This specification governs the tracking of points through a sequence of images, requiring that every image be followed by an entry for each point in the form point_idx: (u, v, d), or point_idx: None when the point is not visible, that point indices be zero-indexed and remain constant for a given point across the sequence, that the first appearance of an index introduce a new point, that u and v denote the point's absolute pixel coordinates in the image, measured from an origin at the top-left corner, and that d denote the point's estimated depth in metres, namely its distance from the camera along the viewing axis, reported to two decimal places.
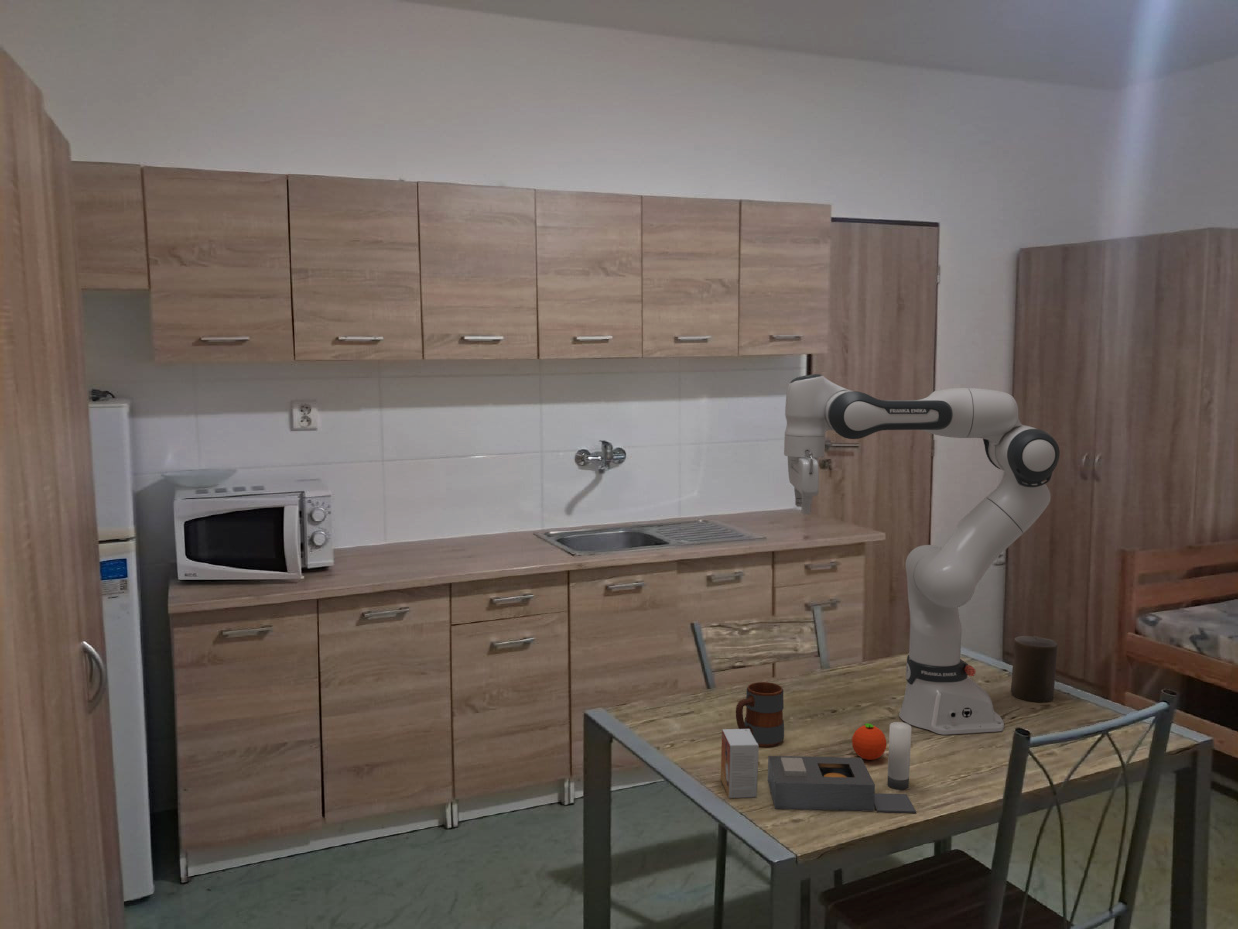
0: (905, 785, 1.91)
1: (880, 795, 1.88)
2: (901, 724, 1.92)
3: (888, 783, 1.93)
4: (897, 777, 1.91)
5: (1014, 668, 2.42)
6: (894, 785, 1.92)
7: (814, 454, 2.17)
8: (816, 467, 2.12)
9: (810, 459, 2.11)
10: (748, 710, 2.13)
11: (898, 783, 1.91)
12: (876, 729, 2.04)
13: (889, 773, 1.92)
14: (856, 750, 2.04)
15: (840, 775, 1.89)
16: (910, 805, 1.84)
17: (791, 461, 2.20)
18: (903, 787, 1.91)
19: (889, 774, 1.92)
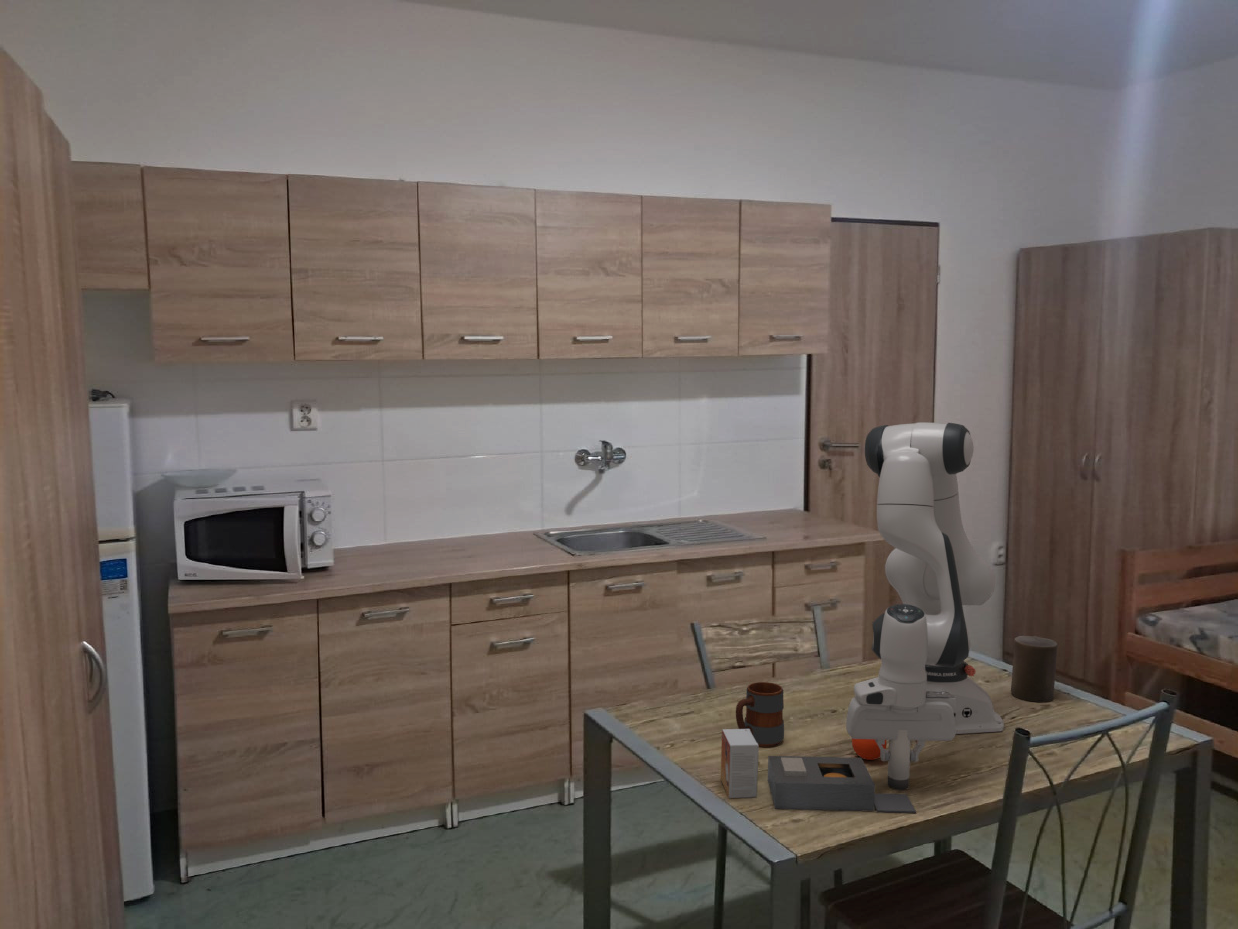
0: (905, 785, 1.91)
1: (880, 795, 1.88)
2: None
3: (888, 783, 1.93)
4: (897, 777, 1.91)
5: (1014, 668, 2.42)
6: (894, 785, 1.92)
7: None
8: None
9: (955, 699, 1.91)
10: (748, 710, 2.13)
11: (898, 783, 1.91)
12: None
13: (889, 773, 1.92)
14: (856, 750, 2.04)
15: (840, 775, 1.89)
16: (910, 805, 1.84)
17: (911, 711, 1.88)
18: (903, 787, 1.91)
19: (889, 774, 1.92)
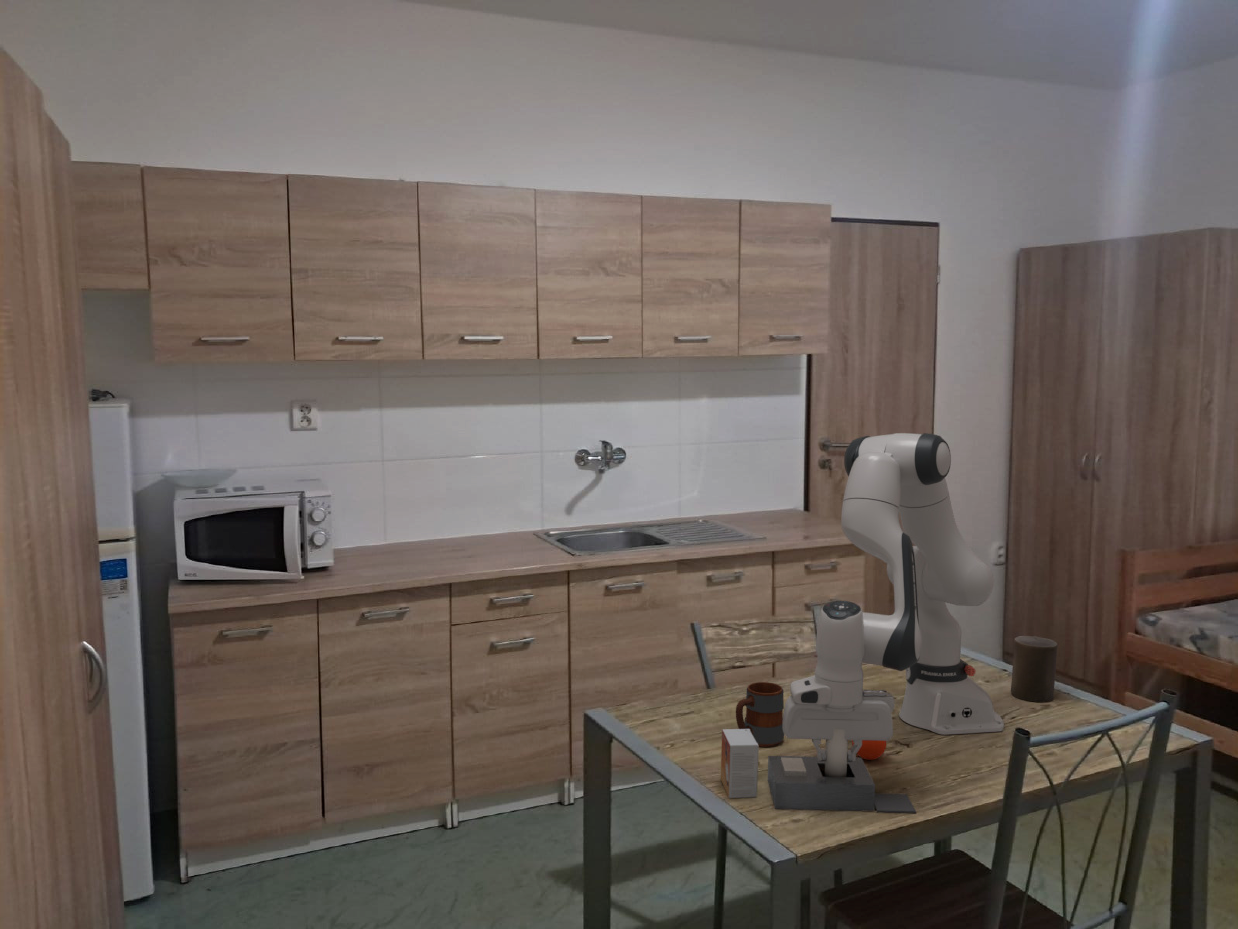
0: None
1: (880, 795, 1.88)
2: None
3: None
4: None
5: (1014, 668, 2.42)
6: None
7: None
8: None
9: (892, 698, 1.86)
10: (748, 710, 2.13)
11: None
12: None
13: (826, 774, 1.88)
14: None
15: None
16: (910, 805, 1.84)
17: (846, 710, 1.84)
18: None
19: (826, 775, 1.88)
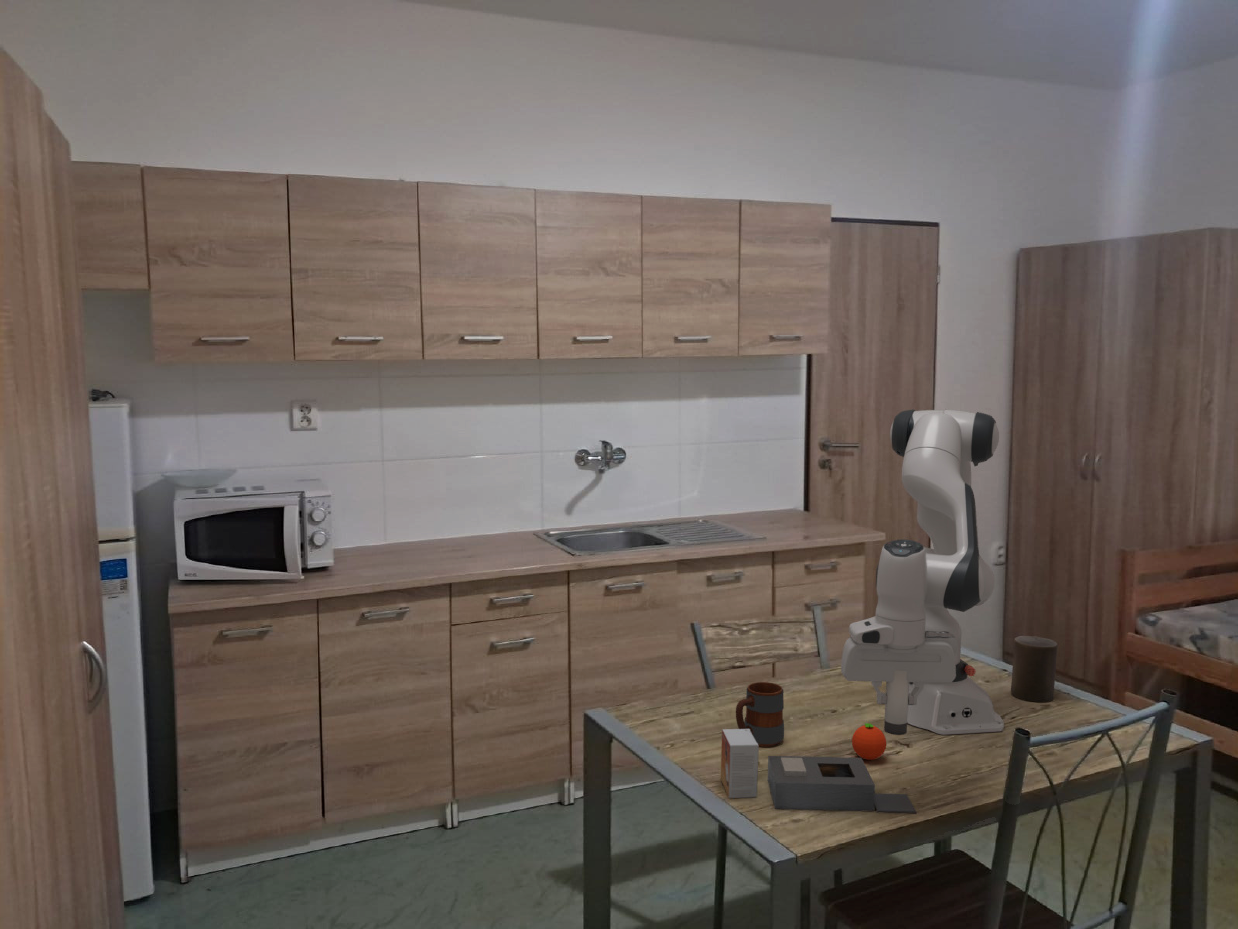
0: (903, 730, 1.82)
1: (880, 795, 1.88)
2: None
3: (885, 728, 1.83)
4: (894, 721, 1.81)
5: (1014, 668, 2.42)
6: (891, 730, 1.82)
7: None
8: None
9: (955, 639, 1.81)
10: (748, 710, 2.13)
11: (896, 727, 1.81)
12: (876, 729, 2.04)
13: (886, 717, 1.83)
14: (856, 750, 2.04)
15: None
16: (910, 805, 1.84)
17: (909, 651, 1.79)
18: (901, 731, 1.82)
19: (886, 718, 1.83)
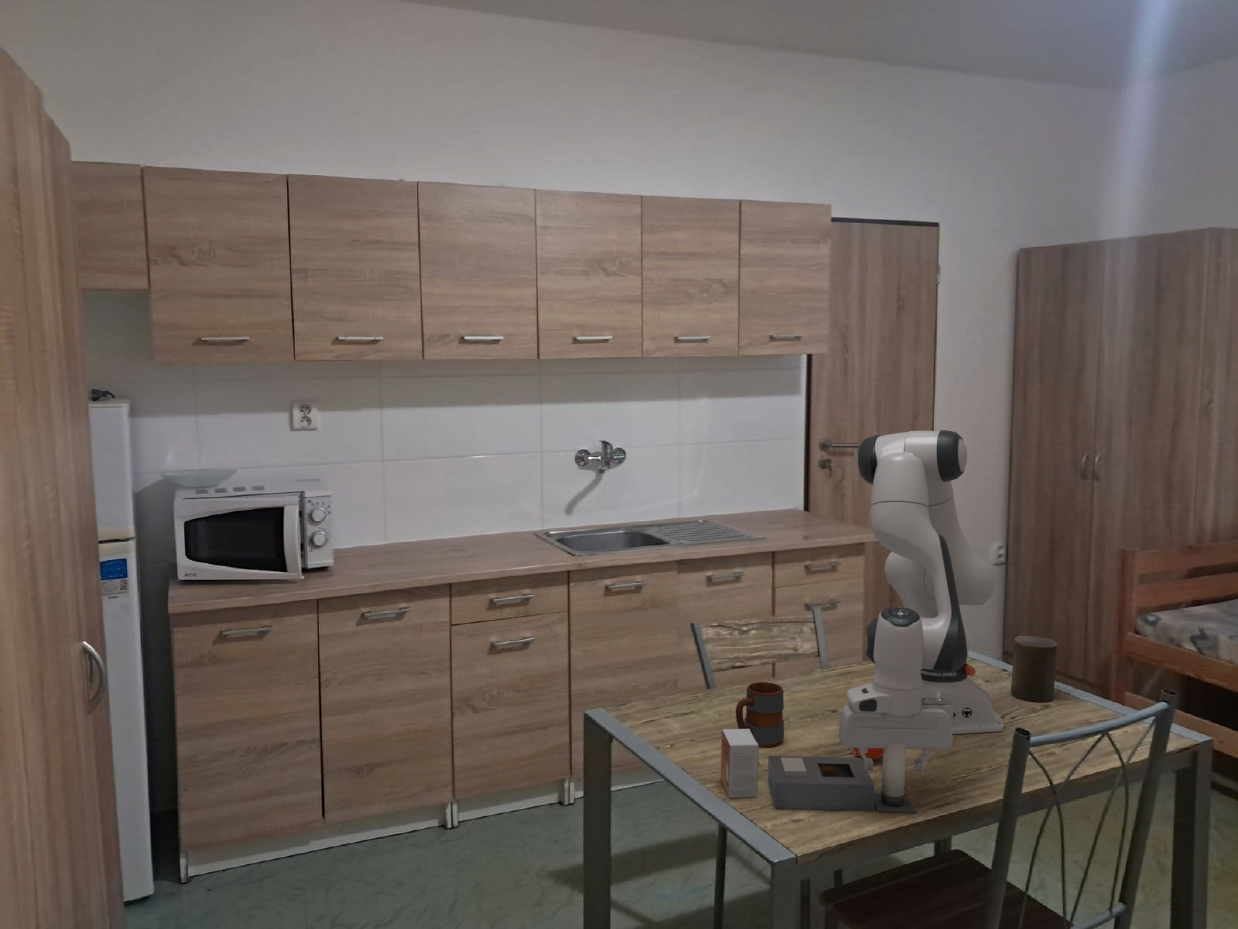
0: (900, 802, 1.83)
1: (880, 795, 1.88)
2: None
3: (882, 799, 1.85)
4: (891, 794, 1.83)
5: (1014, 668, 2.42)
6: (888, 802, 1.84)
7: None
8: None
9: (952, 706, 1.83)
10: (748, 710, 2.13)
11: (893, 799, 1.83)
12: None
13: (883, 789, 1.84)
14: (856, 750, 2.04)
15: None
16: (910, 805, 1.84)
17: (906, 718, 1.80)
18: (898, 803, 1.83)
19: (883, 790, 1.84)
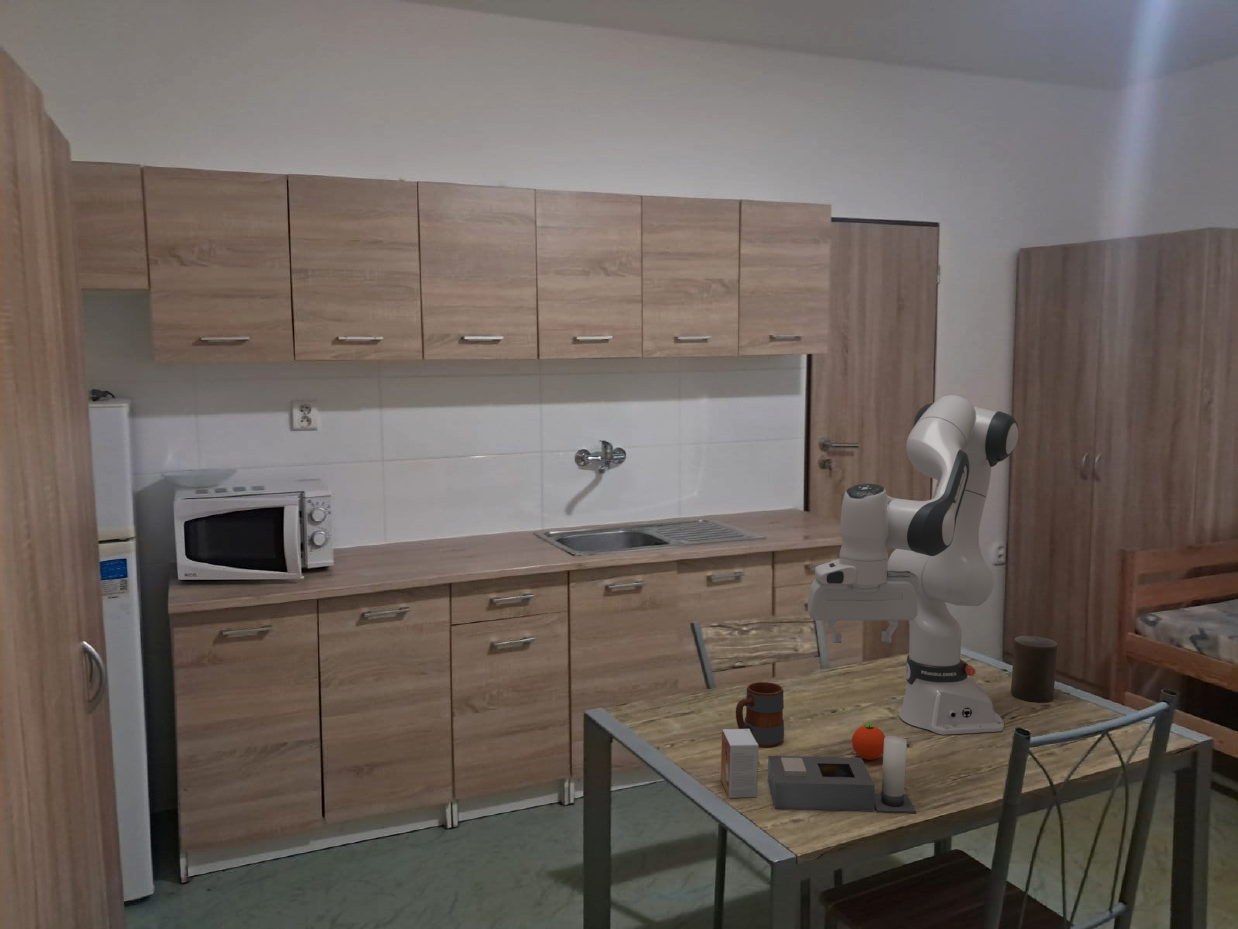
0: (900, 802, 1.83)
1: (880, 795, 1.88)
2: (896, 738, 1.84)
3: (882, 799, 1.85)
4: (891, 793, 1.83)
5: (1014, 668, 2.42)
6: (888, 802, 1.84)
7: None
8: None
9: (916, 578, 1.88)
10: (748, 710, 2.13)
11: (893, 799, 1.83)
12: (876, 729, 2.04)
13: (883, 789, 1.84)
14: (856, 750, 2.04)
15: None
16: (910, 805, 1.84)
17: (872, 590, 1.85)
18: (898, 803, 1.83)
19: (883, 790, 1.84)
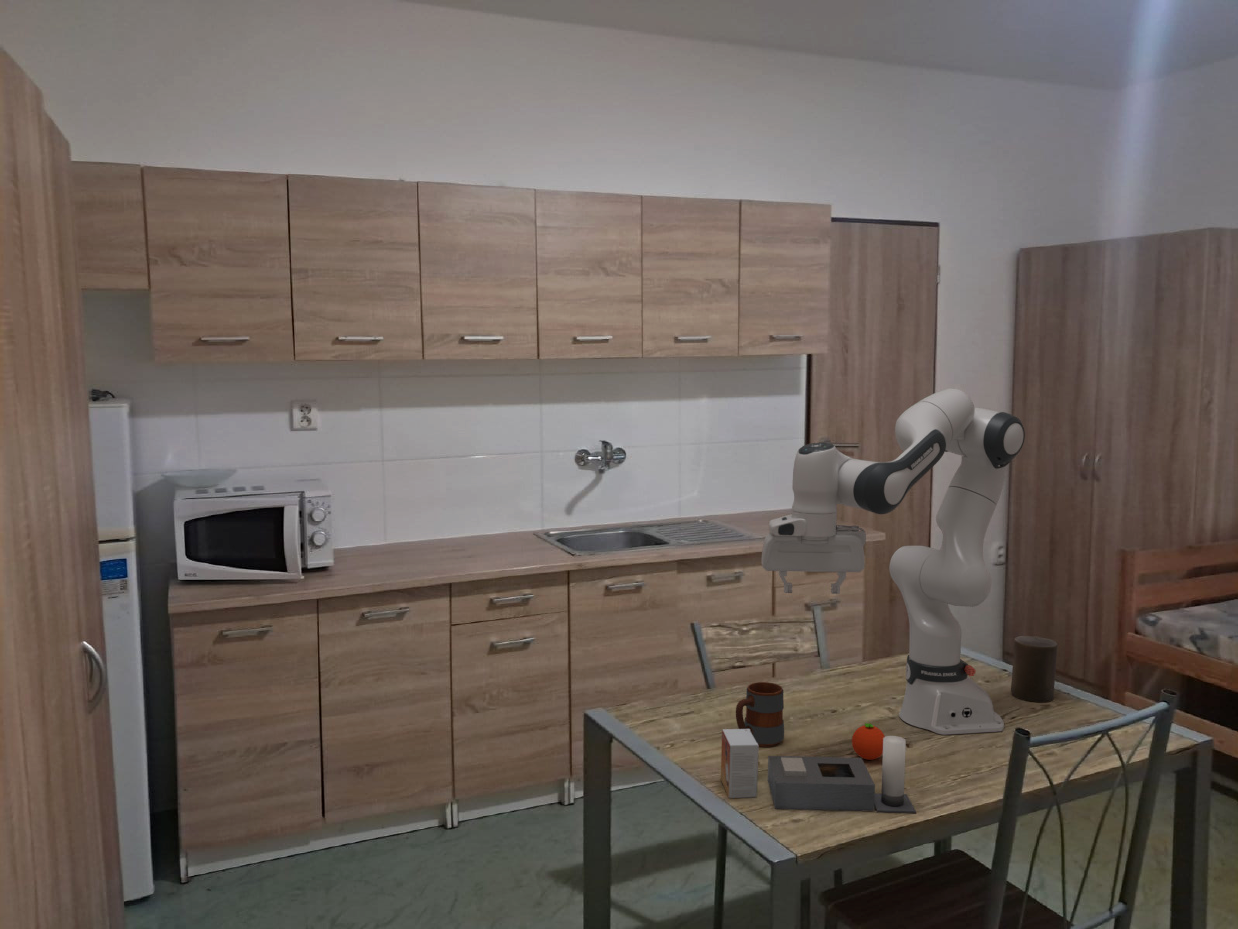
0: (900, 802, 1.83)
1: (880, 795, 1.88)
2: (895, 738, 1.85)
3: (882, 799, 1.85)
4: (891, 793, 1.83)
5: (1014, 668, 2.42)
6: (888, 802, 1.84)
7: None
8: None
9: (864, 532, 1.98)
10: (748, 710, 2.13)
11: (893, 799, 1.83)
12: (876, 729, 2.04)
13: (883, 789, 1.84)
14: (856, 750, 2.04)
15: None
16: (910, 805, 1.84)
17: (821, 542, 1.96)
18: (897, 803, 1.83)
19: (883, 790, 1.84)
